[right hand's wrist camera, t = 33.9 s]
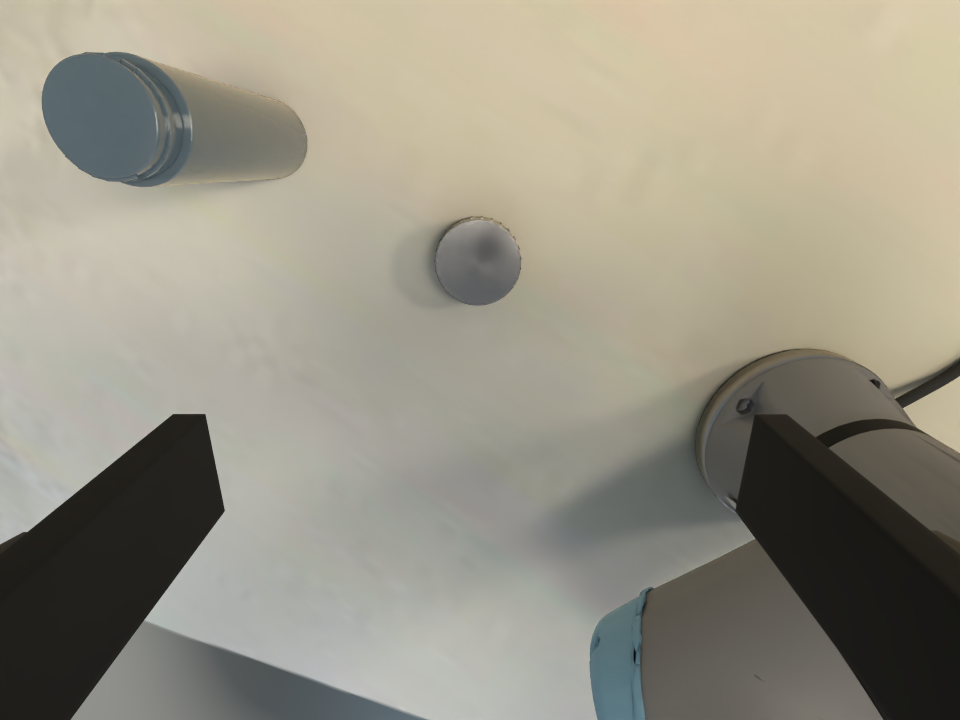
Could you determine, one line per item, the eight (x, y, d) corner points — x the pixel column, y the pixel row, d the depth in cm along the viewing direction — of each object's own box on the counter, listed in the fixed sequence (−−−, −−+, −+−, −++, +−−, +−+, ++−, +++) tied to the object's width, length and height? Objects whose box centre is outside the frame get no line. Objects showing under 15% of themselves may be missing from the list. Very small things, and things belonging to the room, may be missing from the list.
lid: (422, 275, 39) (419, 281, 37) (460, 199, 37) (459, 201, 36) (494, 313, 40) (495, 321, 38) (535, 241, 38) (537, 245, 37)
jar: (220, 109, 35) (3, 61, 19) (291, 89, 35) (131, 24, 19) (249, 186, 37) (72, 202, 21) (317, 168, 37) (190, 171, 21)
